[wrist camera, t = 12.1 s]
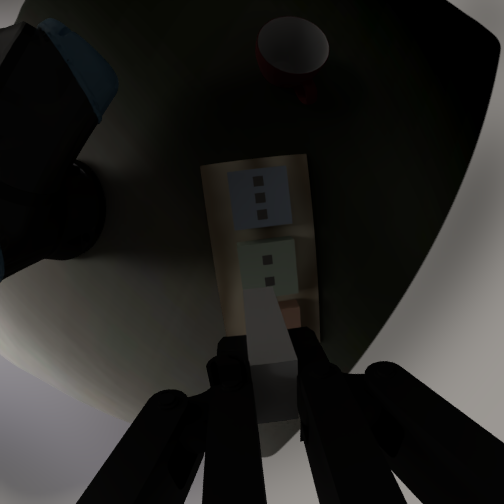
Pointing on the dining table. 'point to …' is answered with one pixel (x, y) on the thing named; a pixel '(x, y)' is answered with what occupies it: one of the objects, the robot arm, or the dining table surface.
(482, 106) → the dining table surface
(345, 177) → the dining table surface
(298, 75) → the mug
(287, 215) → the tile
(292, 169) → the board
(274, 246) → the tile
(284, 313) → the tile
